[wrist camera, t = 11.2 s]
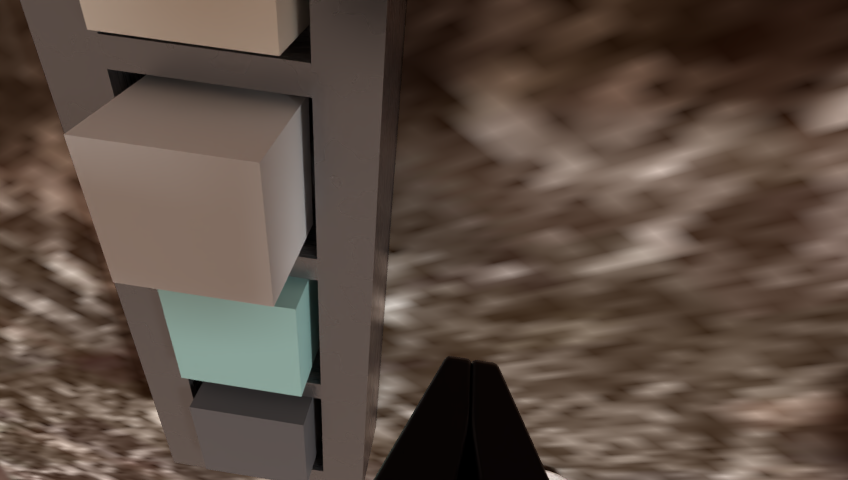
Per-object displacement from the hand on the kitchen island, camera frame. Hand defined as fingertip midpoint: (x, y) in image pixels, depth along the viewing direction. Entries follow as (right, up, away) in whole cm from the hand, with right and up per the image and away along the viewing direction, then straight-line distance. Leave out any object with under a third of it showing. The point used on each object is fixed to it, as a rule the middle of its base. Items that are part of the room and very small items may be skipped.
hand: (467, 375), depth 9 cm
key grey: (-7, +5, +9) cm, 13 cm away
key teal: (-7, +1, +15) cm, 17 cm away
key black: (-8, -5, +20) cm, 22 cm away
